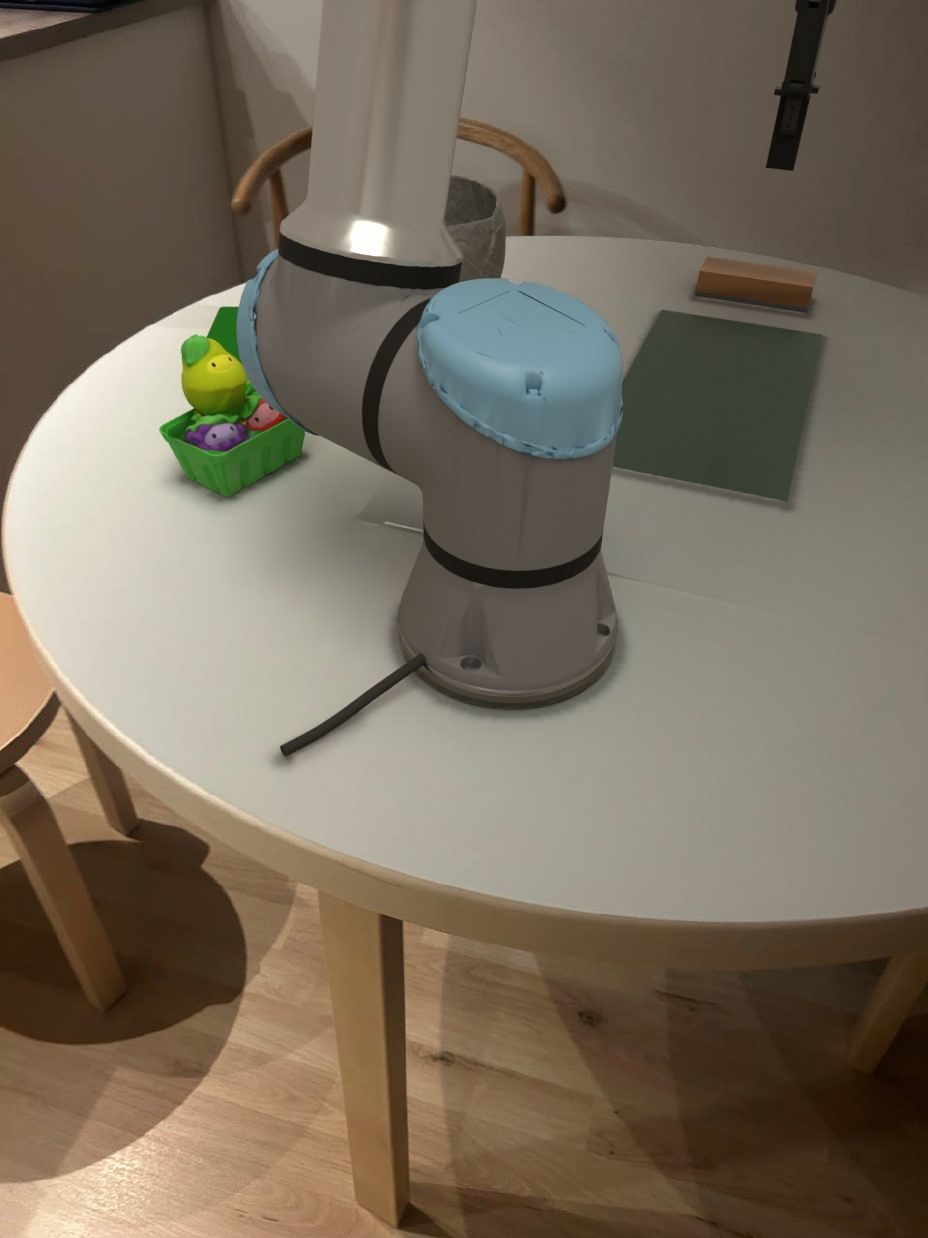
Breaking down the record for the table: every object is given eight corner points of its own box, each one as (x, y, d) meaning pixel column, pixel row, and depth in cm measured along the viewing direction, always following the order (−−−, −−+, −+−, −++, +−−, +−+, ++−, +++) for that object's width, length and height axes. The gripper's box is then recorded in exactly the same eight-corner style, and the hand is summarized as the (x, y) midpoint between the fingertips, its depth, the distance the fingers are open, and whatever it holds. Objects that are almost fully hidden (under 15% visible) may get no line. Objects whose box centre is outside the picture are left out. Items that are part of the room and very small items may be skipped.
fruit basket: (226, 511, 79) (203, 385, 72) (156, 475, 83) (128, 352, 76) (322, 455, 86) (310, 335, 79) (253, 424, 90) (236, 308, 83)
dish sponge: (198, 383, 96) (194, 361, 95) (223, 326, 107) (220, 305, 105) (269, 384, 96) (267, 361, 95) (287, 326, 107) (285, 305, 105)
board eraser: (806, 316, 111) (813, 286, 109) (694, 299, 115) (699, 270, 112) (810, 300, 115) (817, 271, 112) (701, 284, 118) (706, 256, 116)
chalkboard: (786, 506, 81) (787, 501, 81) (580, 464, 85) (580, 459, 85) (820, 338, 107) (822, 333, 106) (660, 313, 111) (661, 309, 111)
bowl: (307, 376, 98) (292, 225, 88) (323, 297, 113) (311, 161, 104) (507, 375, 99) (514, 225, 89) (496, 297, 114) (501, 162, 104)
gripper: (890, -126, 76) (813, 189, 91) (892, -130, 85) (822, 155, 100) (793, -130, 78) (733, 179, 93) (806, -134, 87) (750, 147, 102)
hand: (780, 167), depth 97 cm, fingers closed
